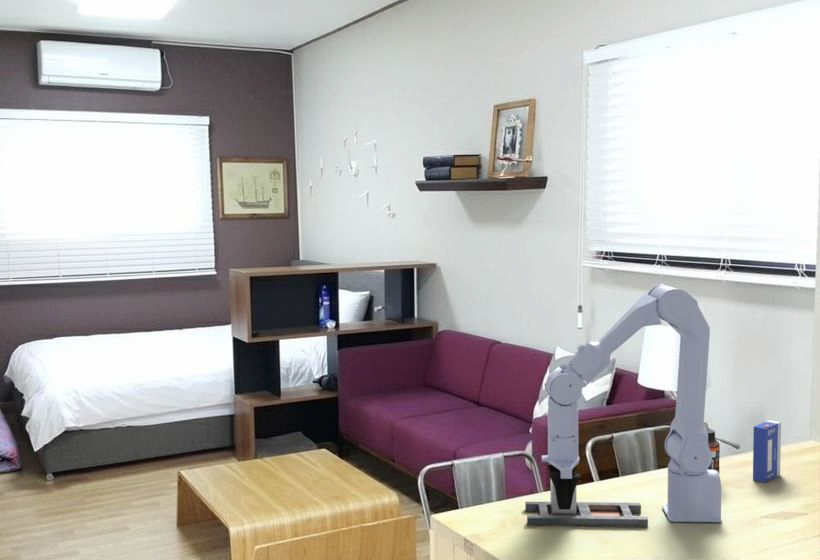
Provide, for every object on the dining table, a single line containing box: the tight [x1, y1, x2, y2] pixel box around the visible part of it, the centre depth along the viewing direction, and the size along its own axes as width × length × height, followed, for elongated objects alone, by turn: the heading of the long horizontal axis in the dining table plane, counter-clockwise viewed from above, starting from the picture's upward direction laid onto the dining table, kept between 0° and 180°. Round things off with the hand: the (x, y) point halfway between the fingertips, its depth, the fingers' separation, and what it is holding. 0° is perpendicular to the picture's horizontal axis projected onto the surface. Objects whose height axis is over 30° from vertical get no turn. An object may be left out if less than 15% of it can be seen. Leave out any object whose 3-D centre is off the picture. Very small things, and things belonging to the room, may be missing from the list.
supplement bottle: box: [706, 428, 721, 474], centre depth 185 cm, size 6×6×11 cm
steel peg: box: [549, 477, 577, 516], centre depth 166 cm, size 4×4×8 cm
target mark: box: [590, 511, 621, 516], centre depth 165 cm, size 5×5×1 cm
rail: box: [524, 501, 649, 528], centre depth 166 cm, size 22×9×2 cm, turn 85°
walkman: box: [752, 419, 782, 483], centre depth 187 cm, size 8×3×12 cm, turn 134°
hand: (563, 504), depth 166 cm, fingers closed on steel peg, 4 cm apart
